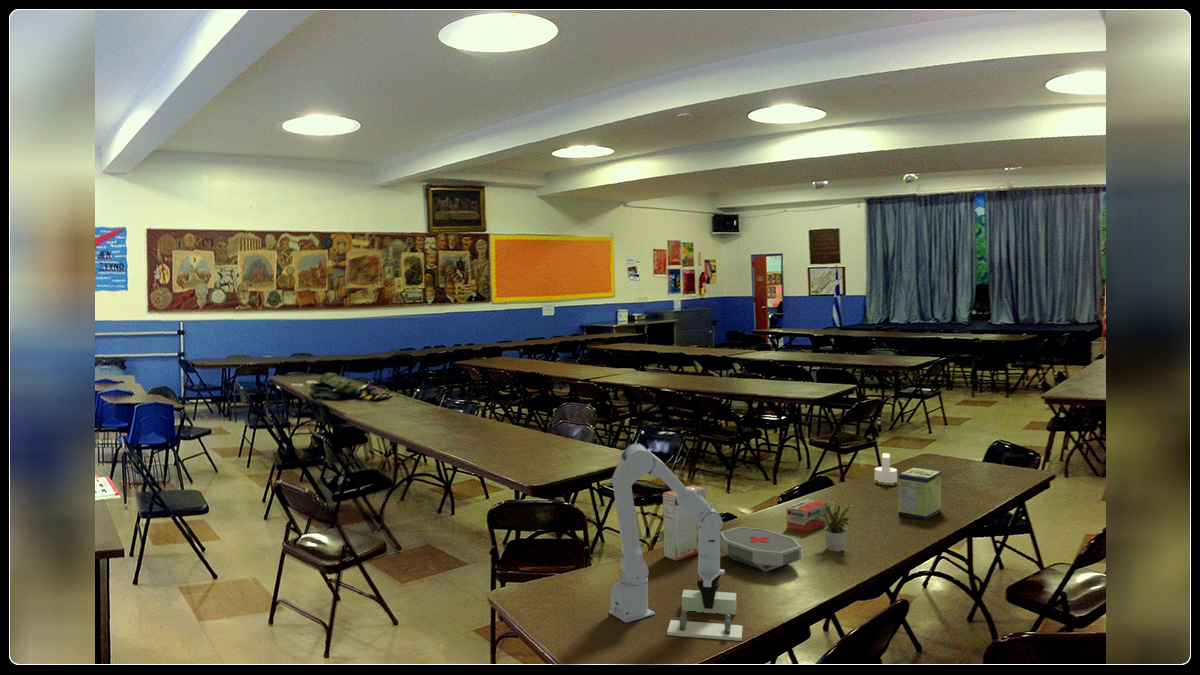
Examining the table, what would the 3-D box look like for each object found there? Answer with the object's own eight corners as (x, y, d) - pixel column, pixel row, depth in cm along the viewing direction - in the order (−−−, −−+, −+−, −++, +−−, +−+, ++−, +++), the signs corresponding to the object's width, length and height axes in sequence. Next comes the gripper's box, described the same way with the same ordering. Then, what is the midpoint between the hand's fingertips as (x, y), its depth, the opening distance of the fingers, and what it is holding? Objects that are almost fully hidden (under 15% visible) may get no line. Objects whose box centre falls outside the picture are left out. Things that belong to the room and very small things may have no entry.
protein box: (941, 511, 298) (942, 470, 297) (926, 521, 286) (927, 478, 285) (913, 506, 305) (913, 466, 304) (897, 515, 293) (898, 474, 292)
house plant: (804, 552, 254) (804, 502, 253) (812, 539, 267) (812, 491, 266) (850, 558, 248) (851, 507, 247) (856, 545, 261) (857, 496, 259)
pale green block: (681, 611, 210) (681, 596, 209) (683, 604, 215) (683, 589, 214) (735, 615, 207) (735, 600, 207) (736, 607, 212) (736, 593, 212)
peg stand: (667, 634, 195) (667, 619, 195) (670, 623, 202) (670, 607, 202) (741, 640, 192) (741, 624, 191) (742, 628, 198) (742, 613, 198)
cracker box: (693, 547, 260) (693, 484, 259) (706, 551, 256) (706, 487, 254) (662, 556, 251) (662, 491, 250) (676, 561, 247) (675, 495, 245)
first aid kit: (710, 558, 250) (771, 581, 230) (710, 534, 250) (771, 556, 230) (748, 546, 261) (810, 567, 241) (748, 524, 260) (810, 543, 240)
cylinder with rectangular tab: (896, 486, 335) (897, 458, 334) (874, 484, 339) (874, 456, 338) (896, 481, 344) (897, 454, 343) (874, 479, 347) (875, 452, 346)
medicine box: (807, 519, 290) (807, 498, 289) (827, 524, 284) (827, 502, 284) (785, 529, 279) (785, 506, 279) (806, 534, 273) (806, 511, 273)
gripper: (723, 563, 202) (723, 616, 203) (725, 545, 216) (725, 594, 217) (695, 562, 203) (695, 614, 204) (699, 544, 217) (699, 592, 218)
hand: (709, 603), depth 211 cm, fingers closed on pale green block, 5 cm apart
